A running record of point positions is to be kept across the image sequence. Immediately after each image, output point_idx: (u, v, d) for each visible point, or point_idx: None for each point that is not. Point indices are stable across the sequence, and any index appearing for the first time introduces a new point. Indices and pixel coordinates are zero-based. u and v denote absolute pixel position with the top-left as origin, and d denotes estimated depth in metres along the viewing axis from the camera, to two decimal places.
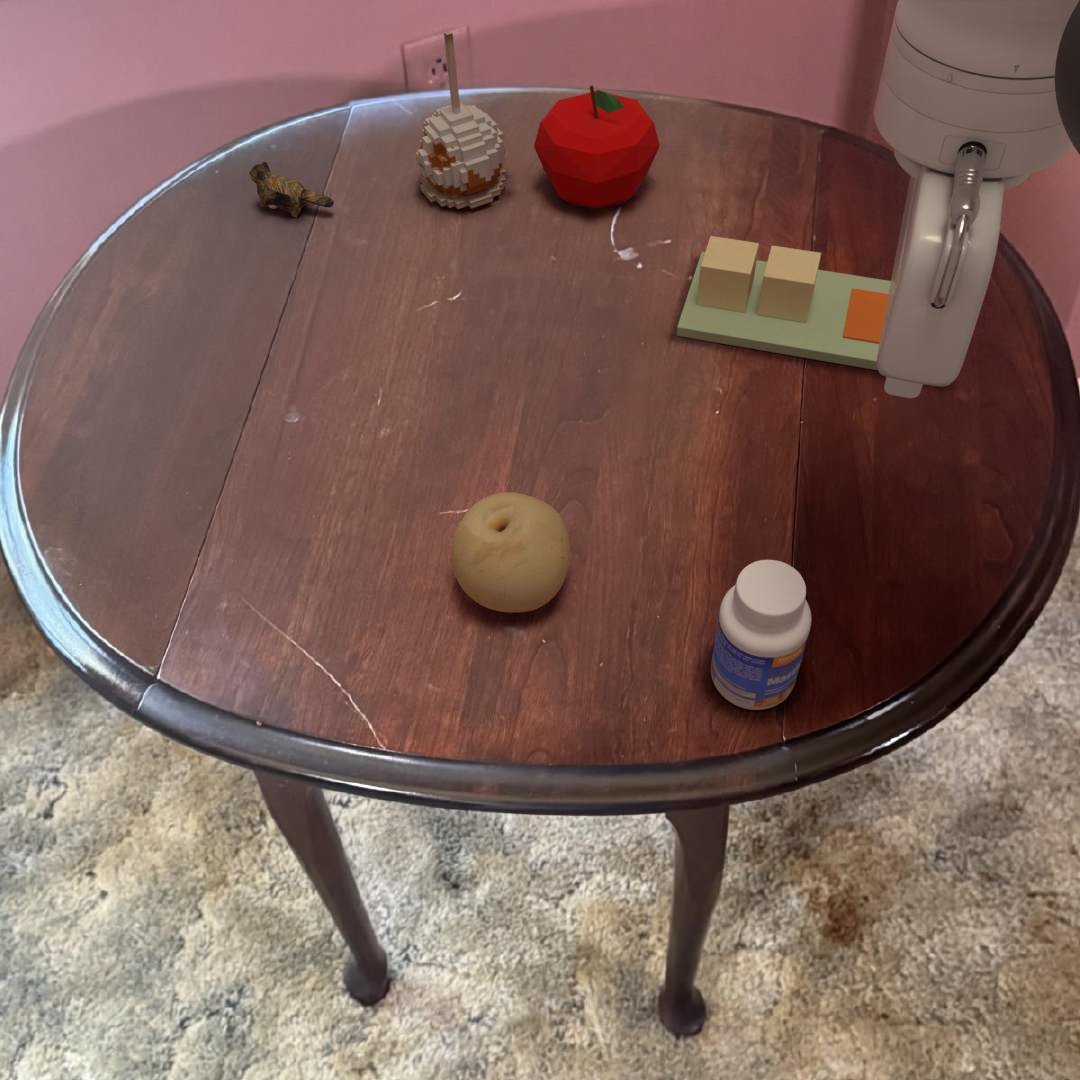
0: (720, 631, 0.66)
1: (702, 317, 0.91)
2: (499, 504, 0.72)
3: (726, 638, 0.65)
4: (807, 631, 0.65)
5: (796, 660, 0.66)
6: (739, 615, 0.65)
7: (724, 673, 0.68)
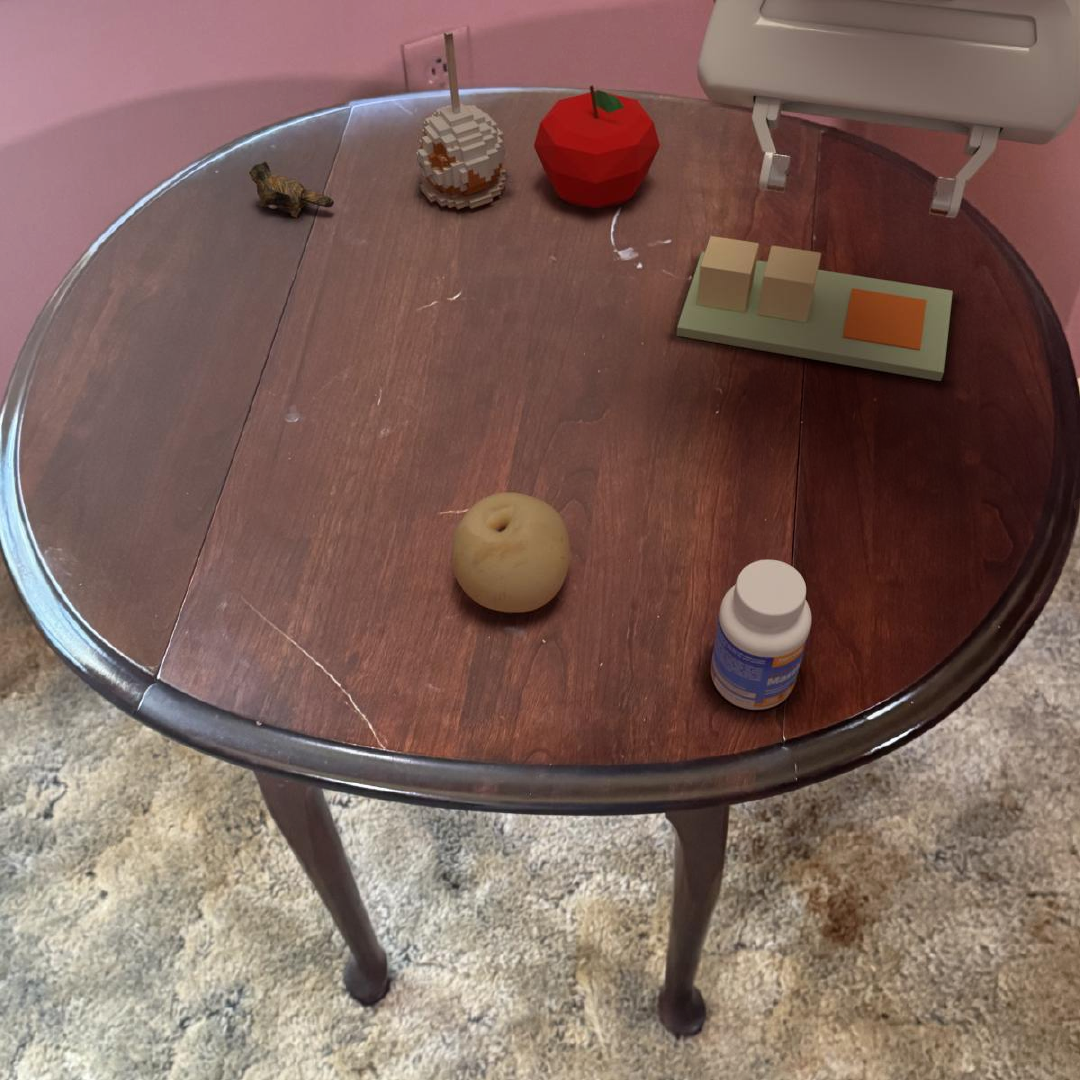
0: (720, 631, 0.66)
1: (702, 317, 0.91)
2: (499, 504, 0.72)
3: (726, 638, 0.65)
4: (807, 631, 0.65)
5: (796, 660, 0.66)
6: (739, 615, 0.65)
7: (724, 673, 0.68)
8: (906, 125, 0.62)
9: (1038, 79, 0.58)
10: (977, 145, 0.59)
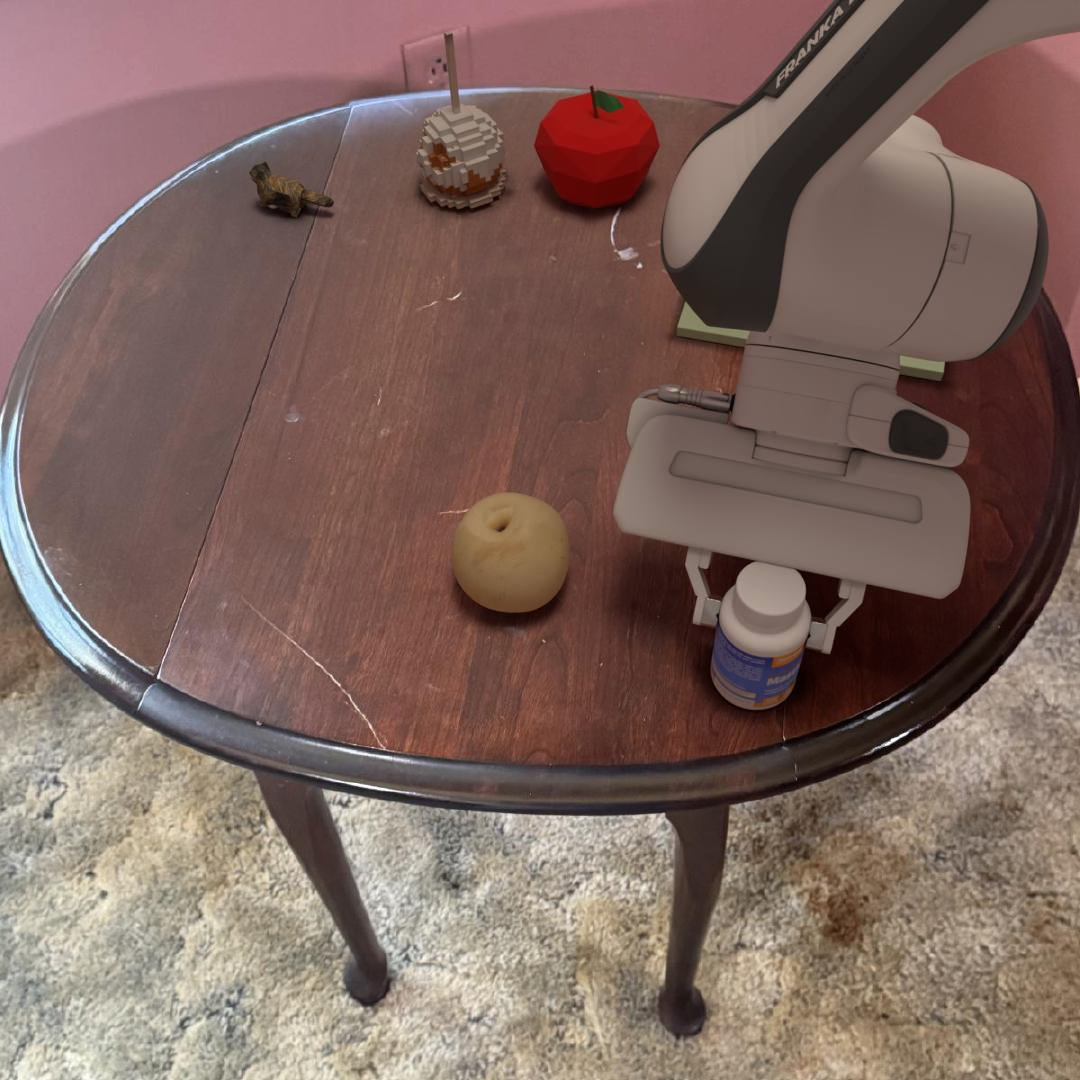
0: (720, 631, 0.66)
1: None
2: (499, 504, 0.72)
3: (726, 638, 0.65)
4: (807, 631, 0.65)
5: (796, 660, 0.66)
6: (739, 615, 0.65)
7: (723, 673, 0.68)
8: None
9: (924, 553, 0.62)
10: (846, 597, 0.64)
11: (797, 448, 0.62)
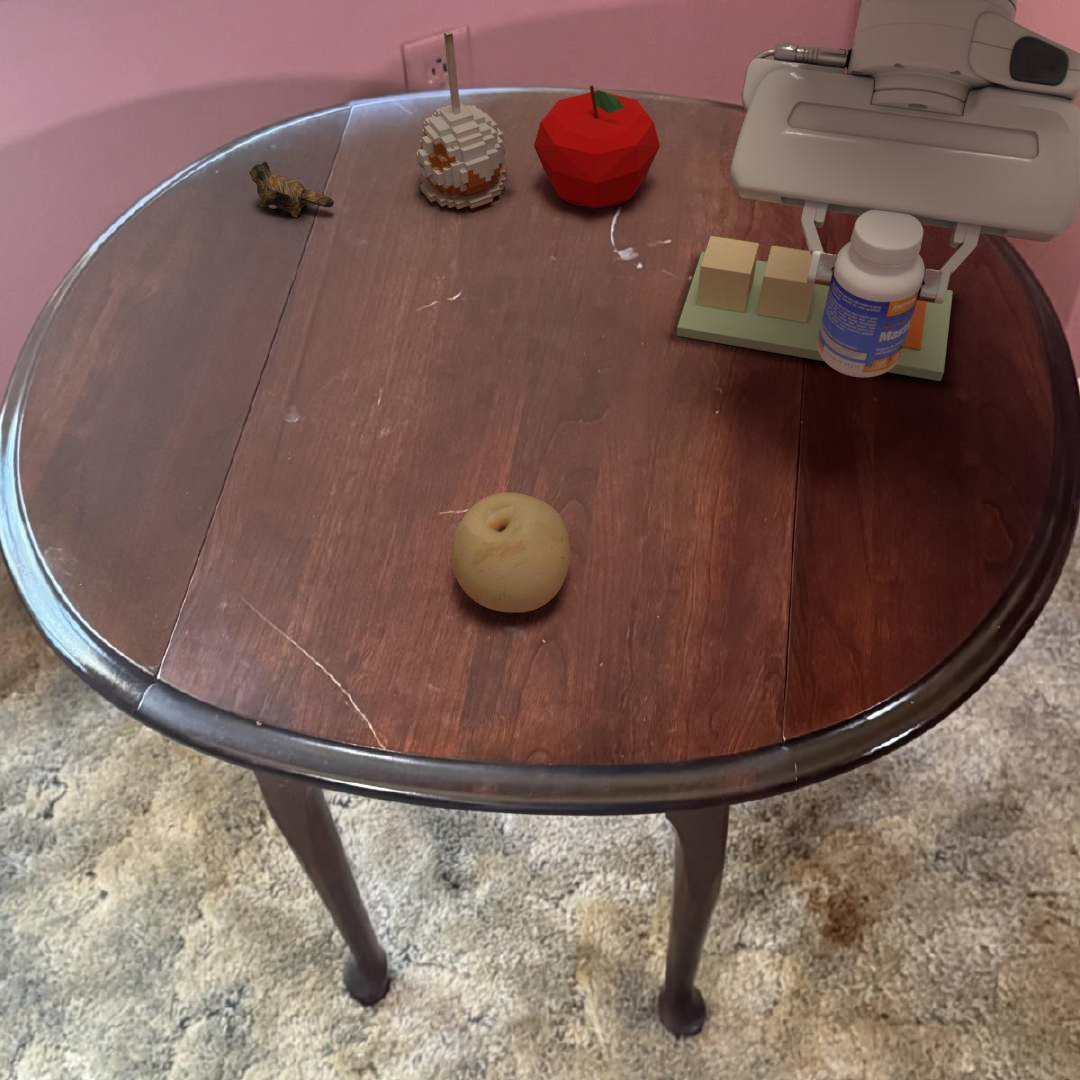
0: (835, 285, 0.68)
1: (702, 317, 0.91)
2: (499, 504, 0.72)
3: (842, 288, 0.67)
4: (922, 277, 0.67)
5: (909, 313, 0.68)
6: (856, 262, 0.67)
7: (835, 336, 0.70)
8: (920, 222, 0.68)
9: (1040, 187, 0.64)
10: (961, 241, 0.66)
11: (918, 84, 0.64)
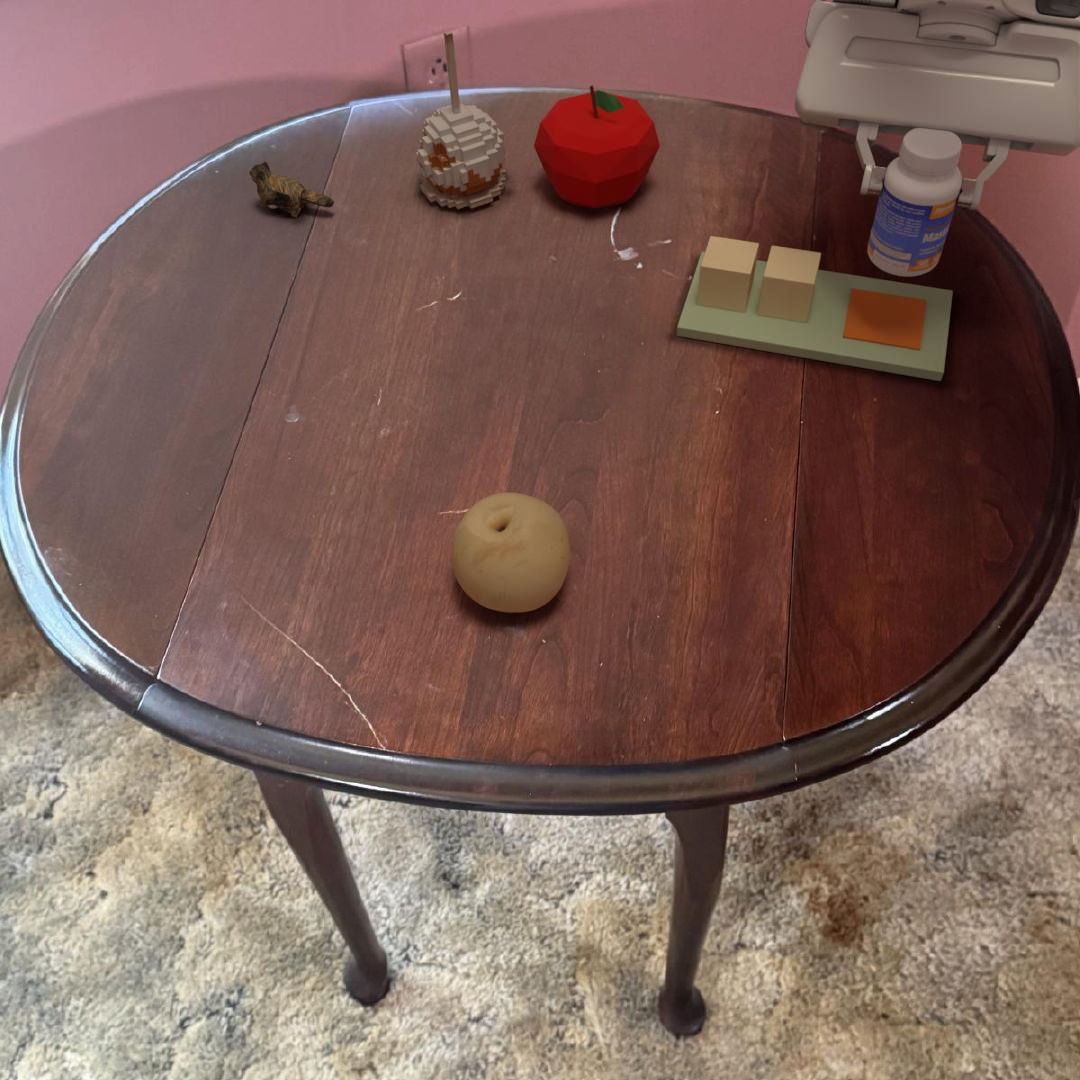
0: (885, 193, 0.80)
1: (702, 317, 0.91)
2: (499, 504, 0.72)
3: (891, 195, 0.79)
4: (960, 185, 0.78)
5: (948, 217, 0.80)
6: (904, 172, 0.78)
7: (884, 239, 0.82)
8: None
9: (1061, 106, 0.76)
10: (993, 154, 0.78)
11: (957, 18, 0.75)
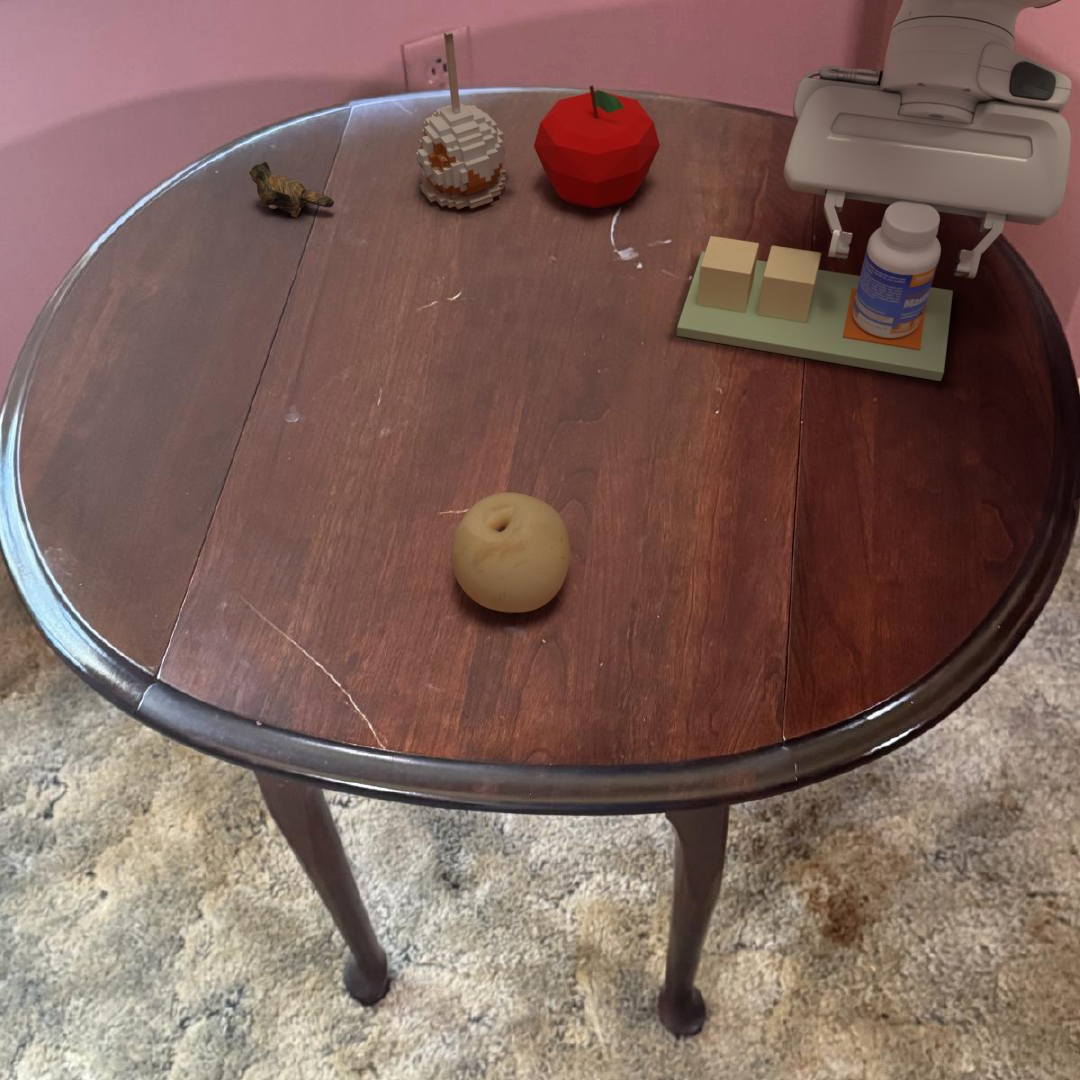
0: (868, 262, 0.85)
1: (702, 317, 0.91)
2: (499, 504, 0.72)
3: (874, 264, 0.84)
4: (938, 255, 0.83)
5: (928, 284, 0.84)
6: (885, 243, 0.83)
7: (868, 303, 0.86)
8: (937, 210, 0.85)
9: (1033, 181, 0.80)
10: (989, 227, 0.82)
11: (936, 99, 0.80)
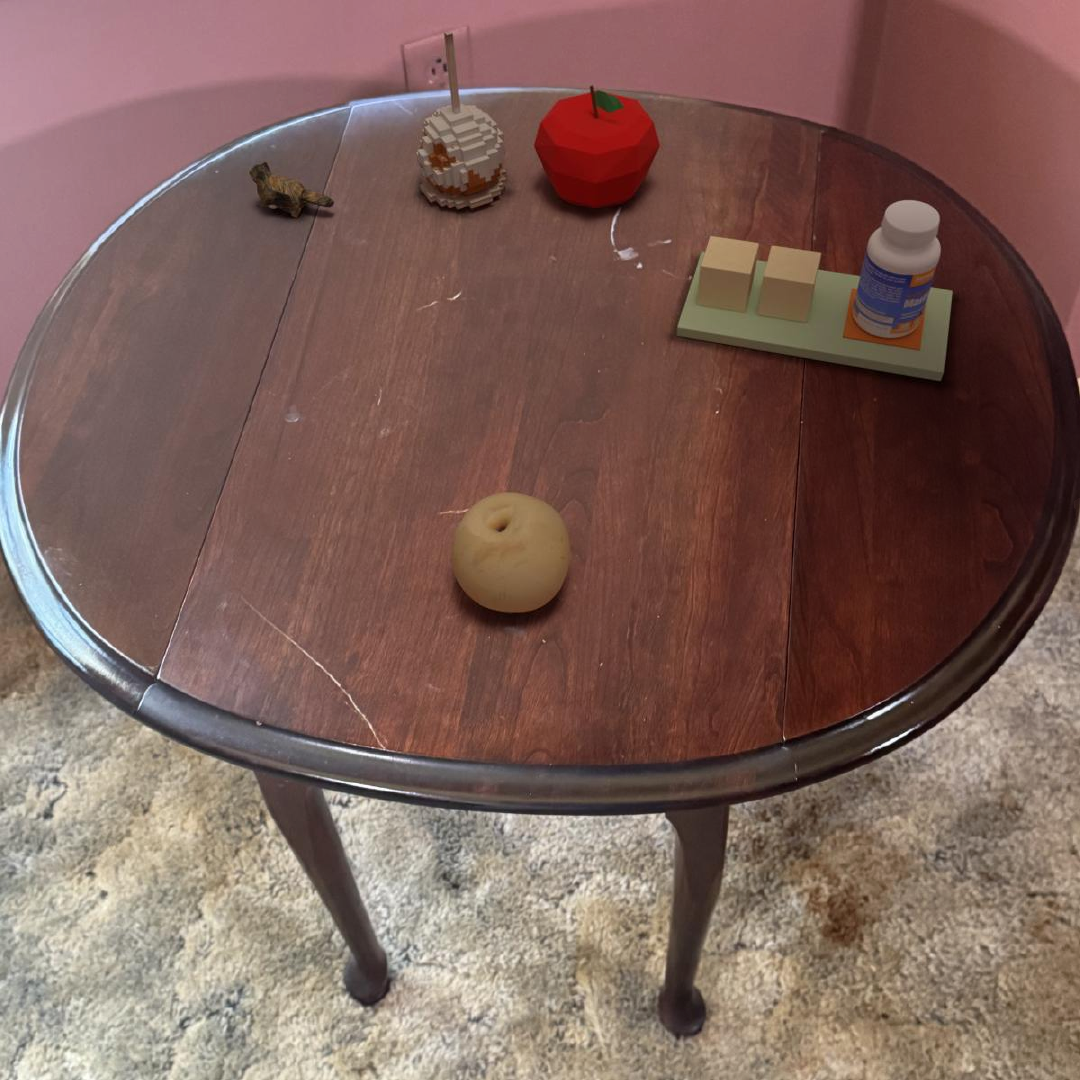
0: (868, 262, 0.85)
1: (702, 317, 0.91)
2: (499, 504, 0.72)
3: (874, 264, 0.84)
4: (938, 255, 0.83)
5: (928, 284, 0.84)
6: (885, 243, 0.83)
7: (868, 303, 0.86)
8: None
9: None
10: None
11: None
